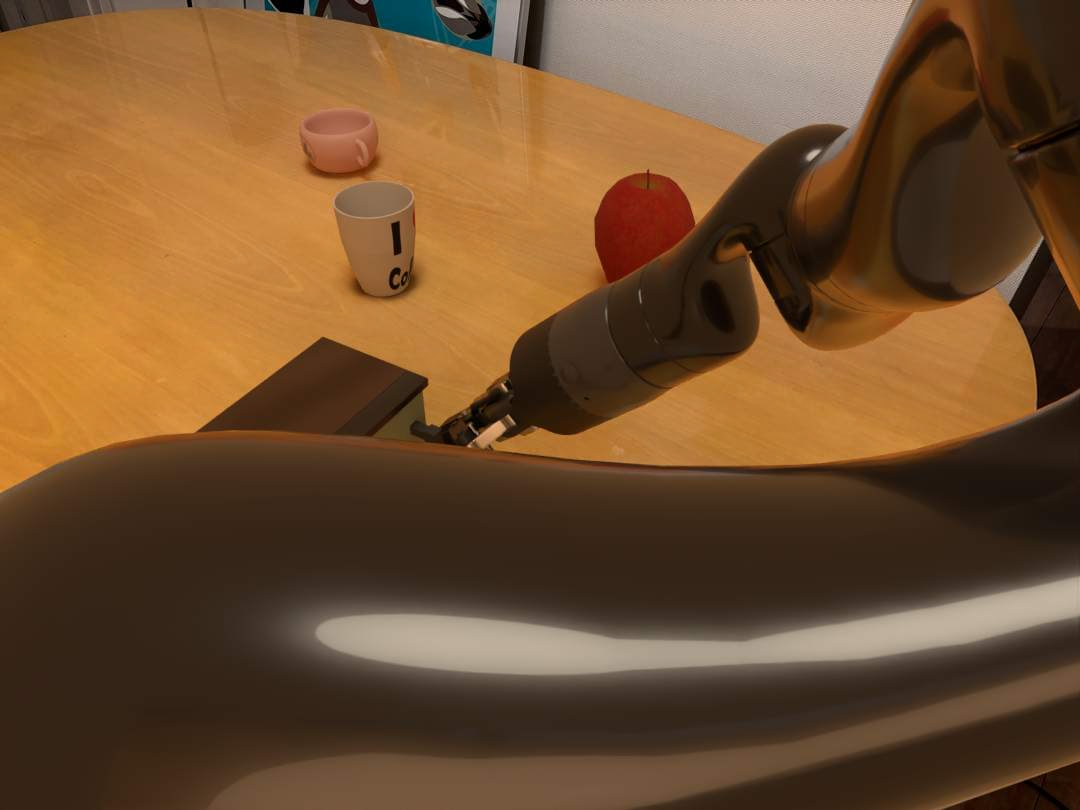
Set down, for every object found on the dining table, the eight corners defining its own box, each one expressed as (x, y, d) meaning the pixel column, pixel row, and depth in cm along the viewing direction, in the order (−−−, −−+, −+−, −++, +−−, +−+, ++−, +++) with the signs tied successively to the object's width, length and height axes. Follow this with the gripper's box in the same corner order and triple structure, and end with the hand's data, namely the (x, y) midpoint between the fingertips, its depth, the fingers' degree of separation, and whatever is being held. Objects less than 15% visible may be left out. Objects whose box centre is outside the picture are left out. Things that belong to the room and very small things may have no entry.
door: (457, 500, 69) (449, 398, 63) (394, 569, 64) (377, 466, 57) (425, 485, 71) (413, 384, 64) (361, 552, 65) (341, 449, 59)
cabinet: (440, 499, 71) (428, 377, 63) (303, 646, 60) (267, 522, 52) (345, 456, 75) (322, 336, 67) (201, 587, 64) (153, 463, 56)
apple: (677, 324, 90) (693, 199, 81) (581, 308, 92) (586, 185, 83) (692, 272, 97) (708, 152, 88) (603, 258, 99) (610, 140, 90)
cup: (402, 310, 91) (392, 223, 85) (332, 296, 93) (317, 210, 87) (434, 271, 97) (427, 187, 91) (368, 258, 99) (356, 175, 93)
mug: (291, 161, 118) (283, 118, 114) (356, 142, 123) (351, 100, 119) (336, 194, 111) (329, 149, 107) (403, 172, 116) (399, 128, 112)
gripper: (585, 469, 51) (427, 530, 63) (678, 350, 59) (523, 424, 72) (504, 366, 49) (360, 449, 62) (612, 260, 58) (466, 352, 71)
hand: (448, 436), depth 67 cm, fingers closed
